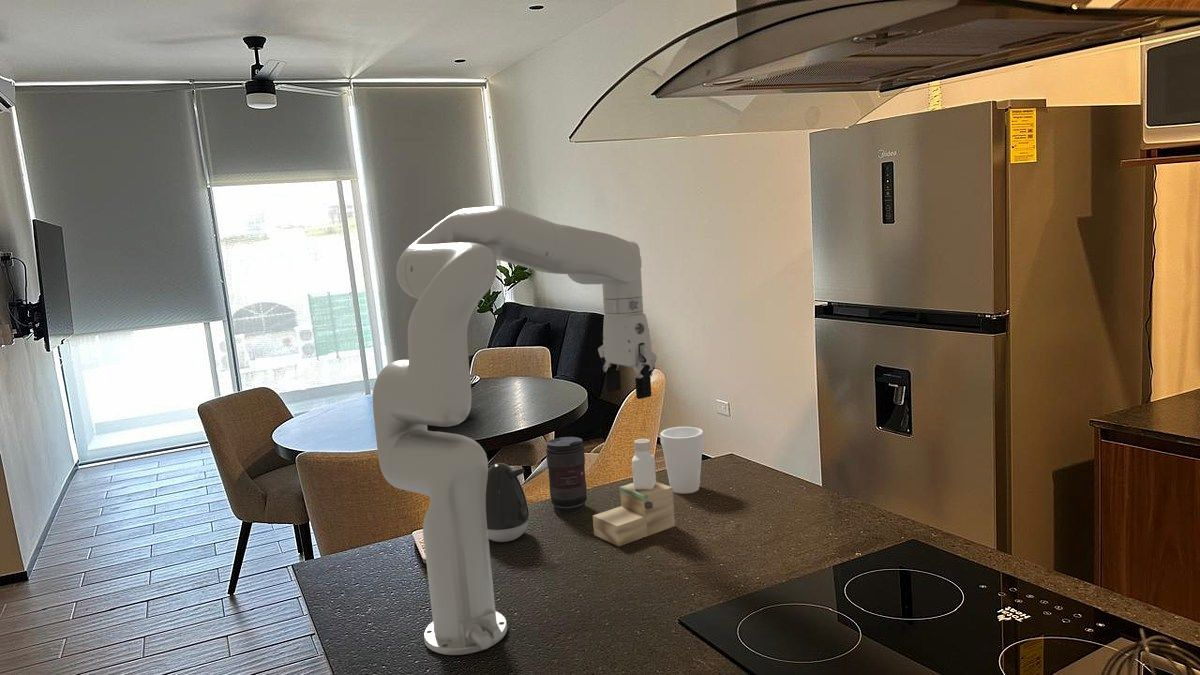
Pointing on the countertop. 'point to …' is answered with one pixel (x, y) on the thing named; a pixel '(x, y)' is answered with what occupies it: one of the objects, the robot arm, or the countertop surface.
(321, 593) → the countertop surface
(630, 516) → the wooden step block
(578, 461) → the camera lens
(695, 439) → the foam cup
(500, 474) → the pump dispenser
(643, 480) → the salt shaker
